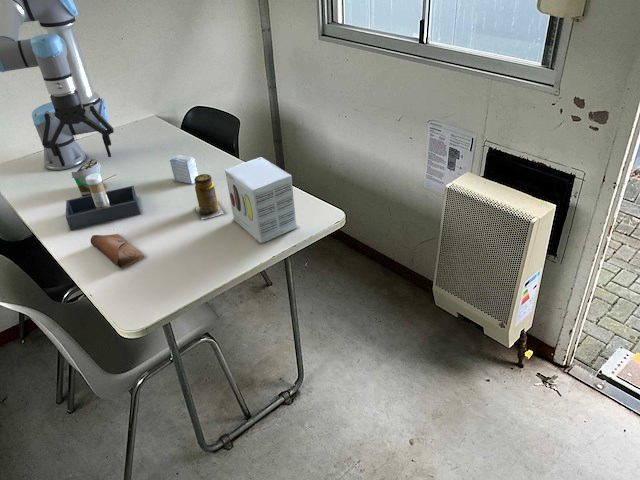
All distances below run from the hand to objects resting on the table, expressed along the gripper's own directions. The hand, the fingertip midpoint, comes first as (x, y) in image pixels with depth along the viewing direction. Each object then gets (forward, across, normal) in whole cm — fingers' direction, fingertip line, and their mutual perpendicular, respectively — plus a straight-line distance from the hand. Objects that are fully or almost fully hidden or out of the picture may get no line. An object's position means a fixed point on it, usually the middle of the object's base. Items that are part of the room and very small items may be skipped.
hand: (86, 160), depth 158 cm
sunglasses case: (+20, +2, -25) cm, 32 cm away
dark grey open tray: (+20, 0, 0) cm, 20 cm away
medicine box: (+20, +29, +11) cm, 37 cm away
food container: (+20, -2, +19) cm, 28 cm away
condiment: (+20, +32, -15) cm, 40 cm away
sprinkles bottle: (+19, 0, 0) cm, 19 cm away
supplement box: (+20, +46, -31) cm, 59 cm away
